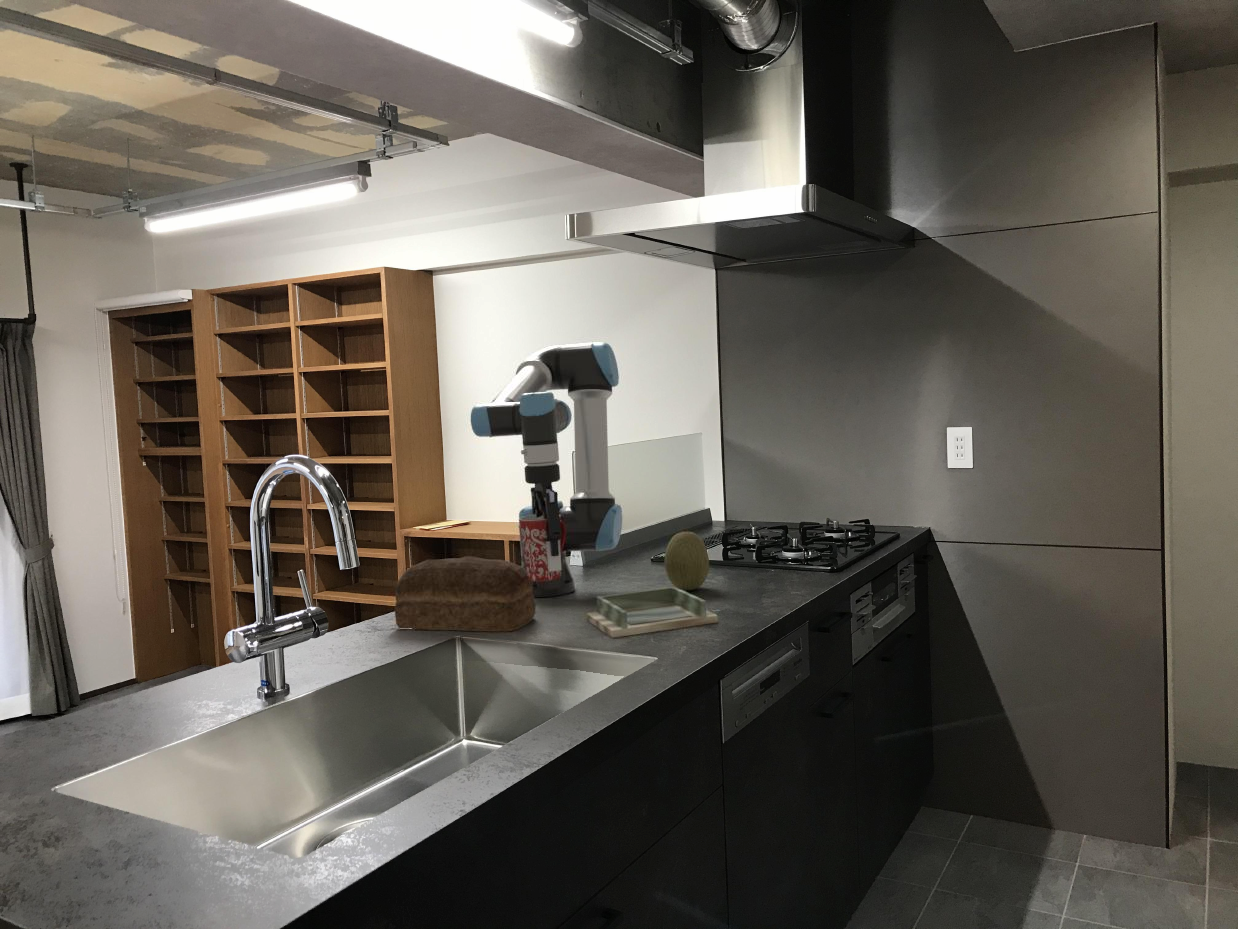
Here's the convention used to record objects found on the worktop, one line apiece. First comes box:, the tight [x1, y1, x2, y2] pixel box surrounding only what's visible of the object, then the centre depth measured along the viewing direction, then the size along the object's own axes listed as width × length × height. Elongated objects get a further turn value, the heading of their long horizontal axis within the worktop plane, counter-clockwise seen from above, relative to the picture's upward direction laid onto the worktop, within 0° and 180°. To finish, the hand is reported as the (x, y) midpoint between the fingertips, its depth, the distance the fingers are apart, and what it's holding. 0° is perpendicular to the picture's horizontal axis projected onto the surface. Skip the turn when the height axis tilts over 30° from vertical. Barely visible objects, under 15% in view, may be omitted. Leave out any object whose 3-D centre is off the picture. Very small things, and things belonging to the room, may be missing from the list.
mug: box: [518, 514, 566, 581], centre depth 207 cm, size 13×9×14 cm
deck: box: [586, 586, 719, 638], centre depth 209 cm, size 18×24×5 cm
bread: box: [394, 555, 537, 632], centre depth 217 cm, size 15×32×16 cm, turn 72°
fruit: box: [664, 531, 710, 592], centre depth 240 cm, size 11×11×15 cm
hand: (549, 566), depth 207 cm, fingers closed on mug, 9 cm apart
